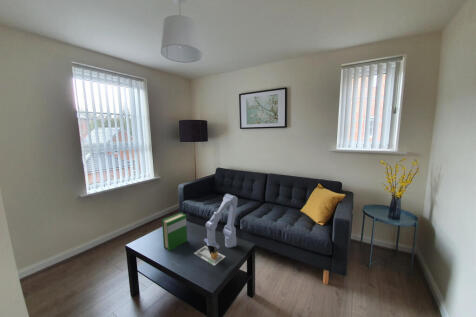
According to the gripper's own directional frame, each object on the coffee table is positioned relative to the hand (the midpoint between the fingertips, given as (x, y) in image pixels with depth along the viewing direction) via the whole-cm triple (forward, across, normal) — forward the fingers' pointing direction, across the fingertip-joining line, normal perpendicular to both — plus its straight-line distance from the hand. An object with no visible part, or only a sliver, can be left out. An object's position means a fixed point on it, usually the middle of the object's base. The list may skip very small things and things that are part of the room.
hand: (211, 253), depth 143 cm
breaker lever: (+2, +3, 0) cm, 4 cm away
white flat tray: (+4, -2, 0) cm, 4 cm away
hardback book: (+4, -36, -6) cm, 37 cm away
